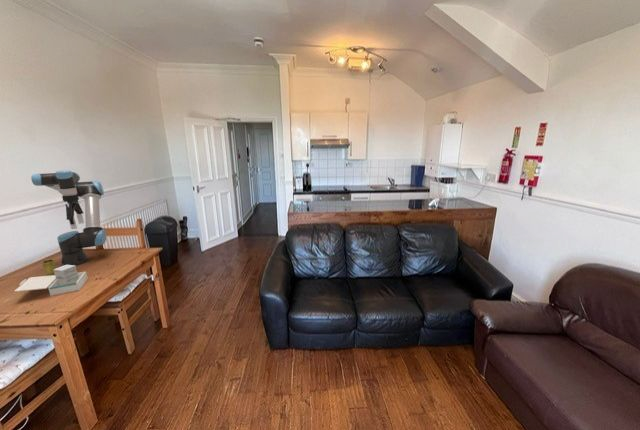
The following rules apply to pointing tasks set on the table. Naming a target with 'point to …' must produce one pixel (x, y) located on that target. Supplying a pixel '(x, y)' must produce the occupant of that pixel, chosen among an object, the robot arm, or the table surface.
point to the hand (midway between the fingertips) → (78, 226)
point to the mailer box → (68, 285)
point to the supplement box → (66, 274)
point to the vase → (49, 267)
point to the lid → (35, 283)
